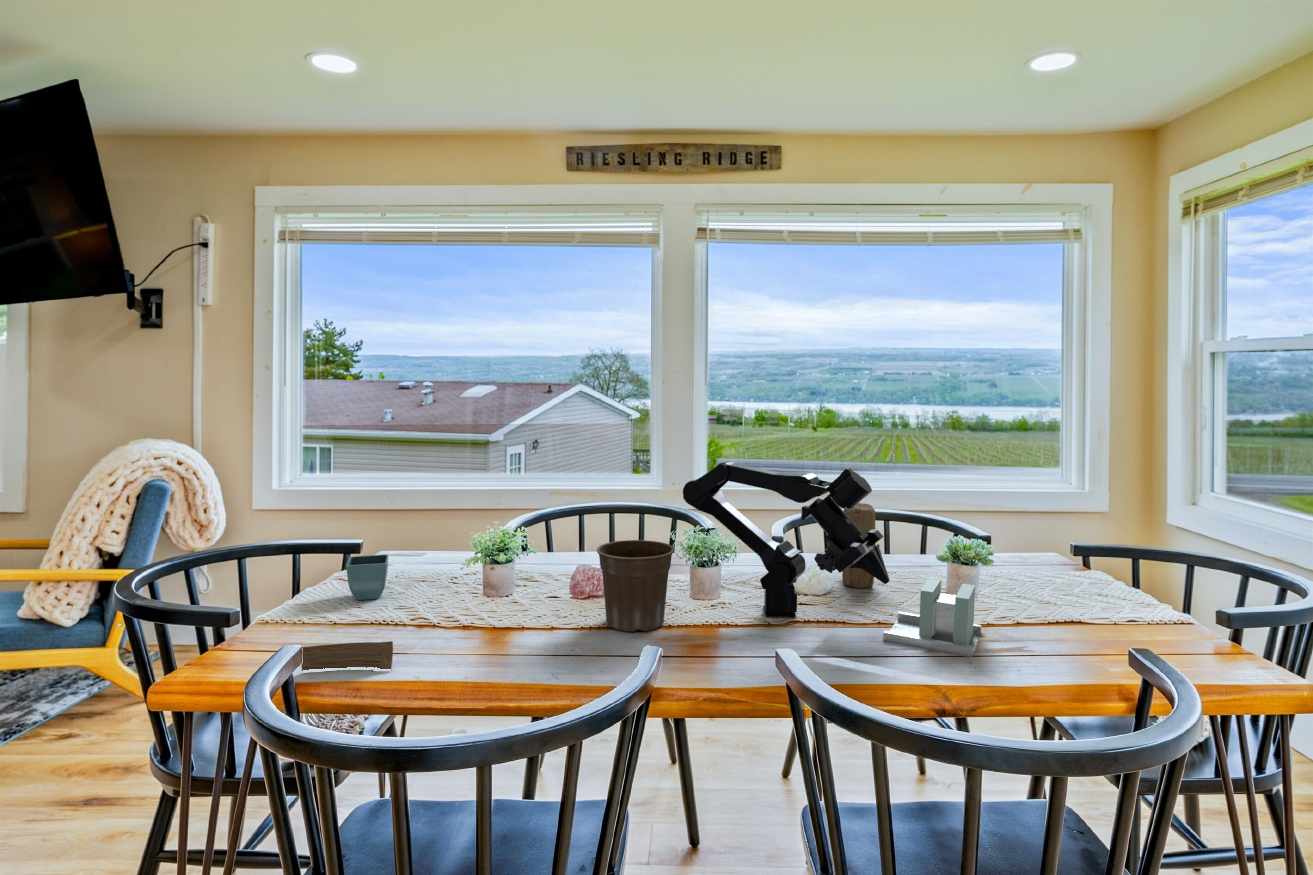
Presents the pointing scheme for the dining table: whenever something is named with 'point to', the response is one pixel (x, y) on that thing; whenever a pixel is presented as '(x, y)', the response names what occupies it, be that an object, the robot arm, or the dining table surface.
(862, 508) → the block
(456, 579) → the dining table surface
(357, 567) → the flower pot
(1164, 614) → the dining table surface
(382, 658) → the wood plank
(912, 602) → the dining table surface
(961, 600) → the fixed jaw
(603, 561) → the plant pot
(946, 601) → the steel block
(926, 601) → the bar
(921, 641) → the vise base
